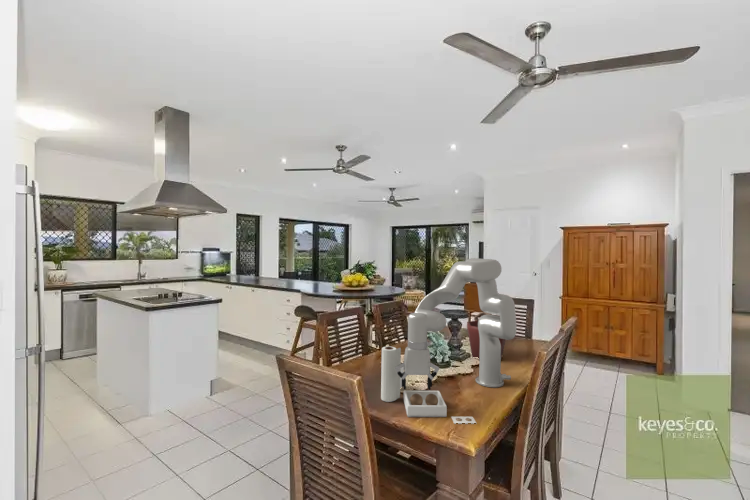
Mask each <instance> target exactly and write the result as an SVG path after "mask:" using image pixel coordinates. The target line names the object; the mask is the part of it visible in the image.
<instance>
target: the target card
mask: <svg viewBox="0 0 750 500" xmlns="http://www.w3.org/2000/svg"><path fill="white" fill-rule="evenodd" d="M450 418H451V419H452V420H451V421H452V422H453V424H454V425H463V424H462V423H465V424H464V425H469V424H468V423H471V424H470V425H475V424H474V423H476V424H477V421H476V420H475V418H474V417H473V416H450ZM456 423H458V424H456Z"/></svg>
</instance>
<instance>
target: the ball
mask: <svg viewBox="0 0 750 500" xmlns="http://www.w3.org/2000/svg"><path fill="white" fill-rule="evenodd" d="M425 402H426V404H427V405H437V404H438V398H437V396H436V395H435V394H428V395H427V396H426V398H425Z"/></svg>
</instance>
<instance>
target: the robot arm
mask: <svg viewBox="0 0 750 500" xmlns="http://www.w3.org/2000/svg"><path fill="white" fill-rule="evenodd" d="M502 269H503V267H502V265H501V263H500V261H499V260H496V259H491V258H480V257H479V258H478V257H477V258H476V257H474V258H472V257H471V258H467V259H466V260H464V261H463V260H461V261H459V260H458V261H455V262H454V263H453V265H452V266H451V268H450V269H449V270H448V272H447V274H446V276H445V278H444V279H443V281H442V282H441V284H440V286H439V287H437V288H435V289H434V290H432V291H431V292H430V293H428V294H427V295H426V296H424V297H423V298H422V299H421V301H420V302H419V304H418V305H417V307H416V308H415V310H414V312H411V313H409V314H408V318H407V346H406V347H405V350H404V356H403V357H404V358H403V362H401V364H399V365H397V366H395V370H396V372H397V374H398V375H399V376H400V377H401V378H402V389H403V391H406V389H407V379H406V378H407V376H410V375H411V376H427V379H426V380H427V382H426V383H427V390H428V391H431V387H433V379H434V378H435V377H436V376H437V375H438V372H439V371H440V367H439V366H437V365H435V364H434V363H432V362H431V355H430V349H429V346H430V347H431V346H432V342H431V341H429V340H428V332H440V331H442V330H443V329H445V327H446V325H447V318H446V316H445V315H444V314H443V313H441V312H439V311H435V310H434V309H435V308H436V307H438V306H439V305H441V304H445V303H448V302H451V301H455V300H456V299H457V298H458V297H459V296H460V294H461V292H462V291H463V289H464V287H465V285H466V284H467V283H476V287H477V295H478V304H479V309H480V311H482V312H486V313H490V314H492V315H486V314H484V315H482V316H481V317H478V319H479V320H478V330H479V337H480V357H479V359H478V360H479V363H478V364H479V366H478V375H477V376H476V377H475V383H477V384H478V385H480V386H483V387H487V388H501V387H503V386H505V385H504V384H505V383H504V381H505V380H508V381H510V380H511V379H512V377H511V375H507V374H506V373H501V362H502V361H501V360H502V357H501V344H500V341H499V338H501V339H506V340H505V341H507V340H508V341H510V340H513V339H514V338H515V337H516V334H517V313H516V305H515V301H514V299H513V298H512V297H511V296H510V295H507V294H504V293H503V294H502V293H499V292H498V288H497V280H496V279H497V278H499V277H500V276H501V273H502ZM402 367H404V372H403V373H401V372H400V370H399V369H401V368H402ZM431 368H432V369H434V370H433V371H432V372H431Z"/></svg>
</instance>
